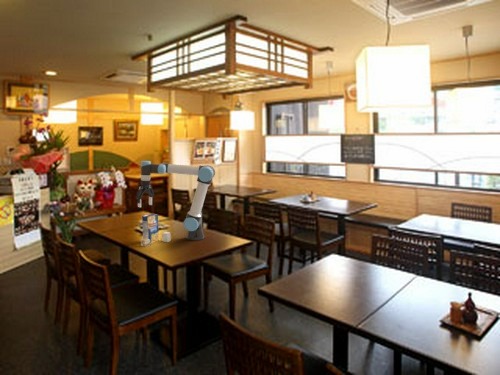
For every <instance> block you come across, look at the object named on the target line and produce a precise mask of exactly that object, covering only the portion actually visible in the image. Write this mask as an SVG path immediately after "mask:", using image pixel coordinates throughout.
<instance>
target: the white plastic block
mask: <svg viewBox="0 0 500 375" xmlns="http://www.w3.org/2000/svg"><path fill="white" fill-rule="evenodd" d="M161 238H162V239H161V240H162V241H161V242H165V243H168V242H171V240H172V237H171V232H169V231H164V232H162V233H161Z"/></svg>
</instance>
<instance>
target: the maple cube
mask: <svg viewBox="0 0 500 375" xmlns="http://www.w3.org/2000/svg"><path fill="white" fill-rule="evenodd" d="M140 246H141V247H144V248H145V247H146V248H147V247H149V246H151V243H150V239H143V238H142V239H140Z"/></svg>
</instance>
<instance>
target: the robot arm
mask: <svg viewBox="0 0 500 375" xmlns="http://www.w3.org/2000/svg"><path fill="white" fill-rule="evenodd" d="M140 164H141V165H140V185H141V186H138V190H137V192H136V196H135V199H136V200H137V207H138V208H142V197H143V195H144V193H145V192H146V193H147V194H148V205H149V206H153V198H154V196H155V193H154V191H153V185H151V178H152V177H151V174H159V175H165V174H166V173H167V174H176V175H177V174H178V175H186V176H188V175H189V176H196V177H197V179H196V182H197V186H196V189H195V193H194V197H193V199H192V203H191V206H190V210H189V211H187V214H186V216H185V217H186V218H185V219H184V220H183V226H184V227H183V228H184V229H185V230H186V231H187V233H186V240H187V241H188V240H189V241H200V240H204V239H205V234H204V230H203V212H202V209H203V206H204V203H205V199H206V195H207V192H208V188H209V186H211V185H212V182H213V178H214V177H215V175H216V171H215V168H214V167H213V166H211V165H198V166H193V165H187V164H186V165H184V164H173V163H166V162H161V163H152V162H151V161H150V160H141V163H140Z"/></svg>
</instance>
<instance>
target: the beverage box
mask: <svg viewBox="0 0 500 375" xmlns="http://www.w3.org/2000/svg"><path fill="white" fill-rule="evenodd" d="M141 217H142V218H141V219H142V220H141V222H142V239H150V244H152V243H154V242H157V241H159V240H160V236H159V235H160V234H159V232H160V231H159V230H160V229H159V214H155V213H151V214H146V215H145V214H144V215H142V216H141Z"/></svg>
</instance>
